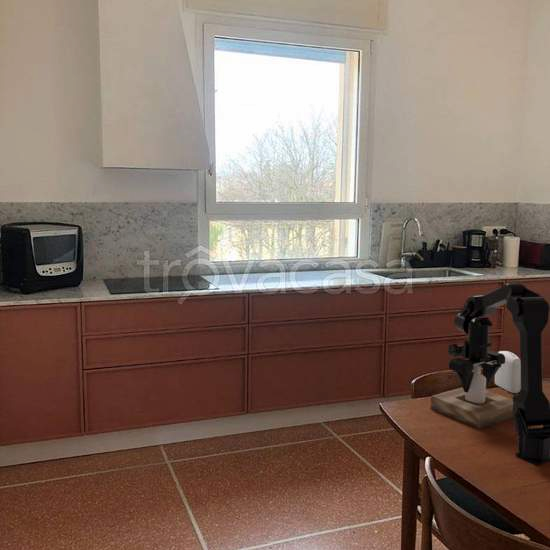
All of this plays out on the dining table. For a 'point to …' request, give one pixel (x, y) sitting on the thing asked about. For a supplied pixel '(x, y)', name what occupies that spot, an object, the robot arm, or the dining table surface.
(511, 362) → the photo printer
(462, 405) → the socket block
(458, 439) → the dining table surface
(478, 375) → the eye dropper bottle
